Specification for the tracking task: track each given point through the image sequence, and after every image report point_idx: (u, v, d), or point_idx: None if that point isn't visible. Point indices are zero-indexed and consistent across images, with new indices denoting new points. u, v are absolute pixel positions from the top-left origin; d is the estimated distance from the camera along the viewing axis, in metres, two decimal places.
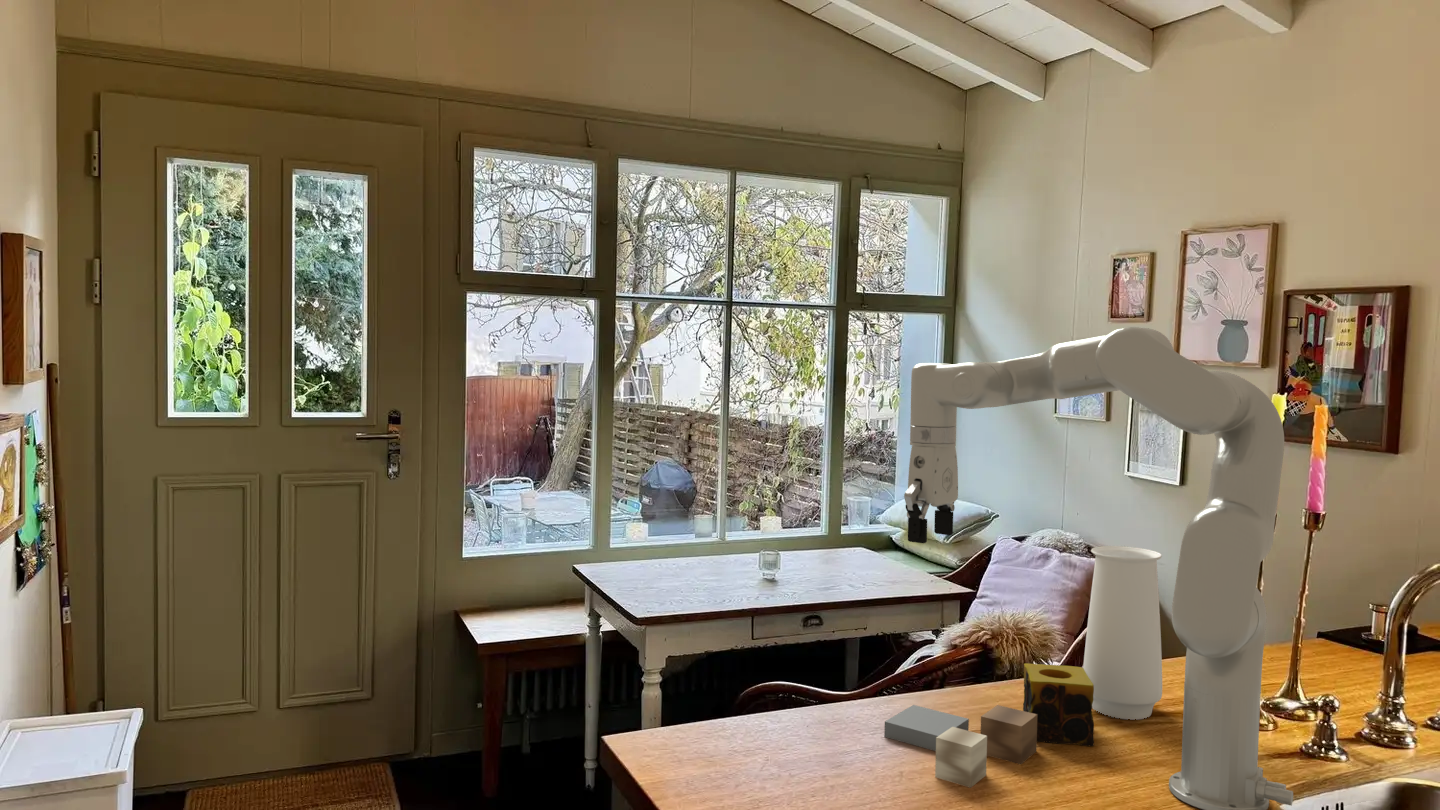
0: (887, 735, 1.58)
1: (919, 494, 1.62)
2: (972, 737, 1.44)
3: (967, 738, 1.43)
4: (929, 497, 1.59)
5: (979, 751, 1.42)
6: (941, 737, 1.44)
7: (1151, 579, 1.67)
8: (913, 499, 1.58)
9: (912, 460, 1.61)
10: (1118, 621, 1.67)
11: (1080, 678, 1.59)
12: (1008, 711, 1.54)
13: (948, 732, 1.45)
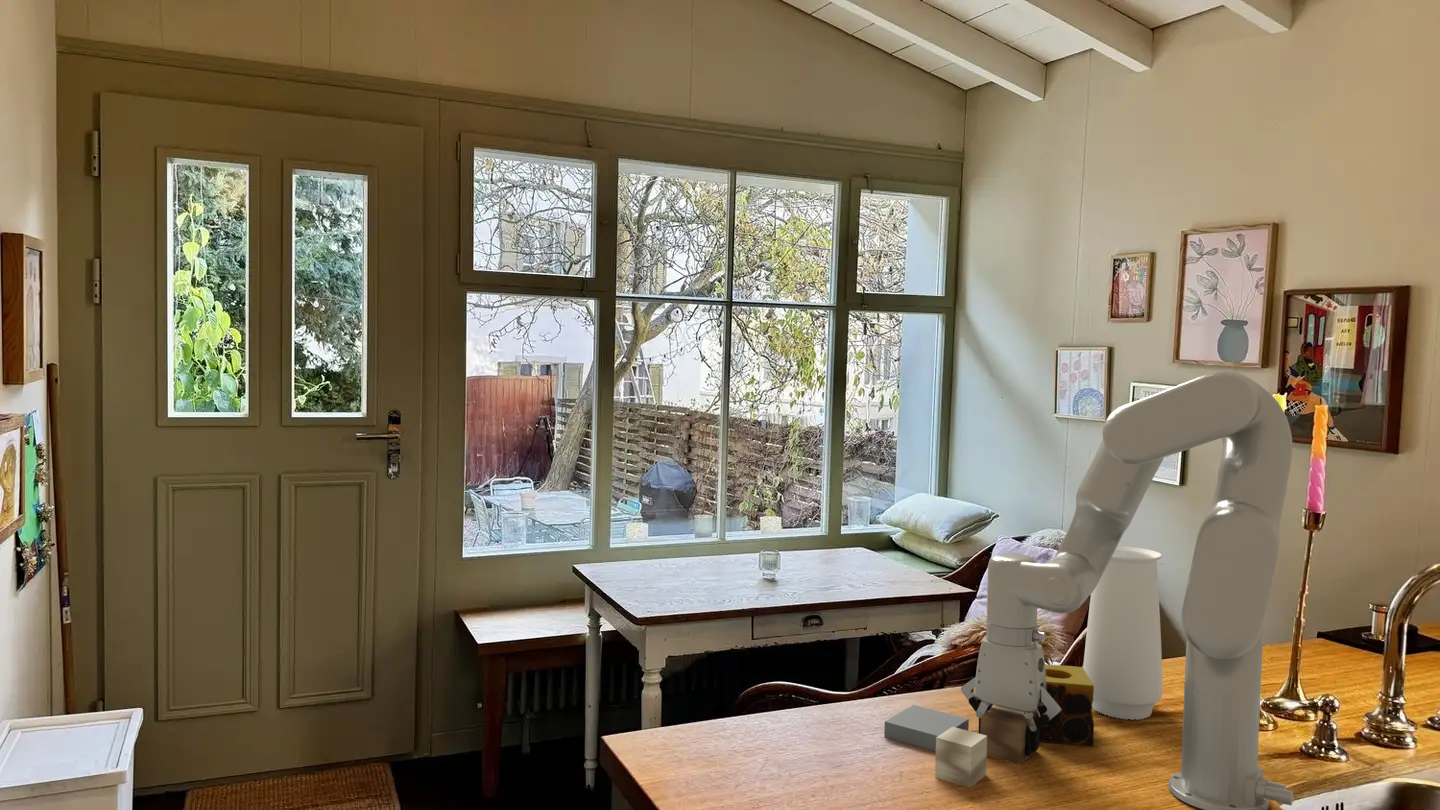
0: (887, 735, 1.58)
1: None
2: (972, 737, 1.44)
3: (967, 738, 1.43)
4: None
5: (979, 751, 1.42)
6: (941, 737, 1.44)
7: (1151, 579, 1.67)
8: None
9: (1036, 665, 1.48)
10: (1118, 621, 1.67)
11: (1079, 678, 1.59)
12: (1008, 710, 1.54)
13: (948, 732, 1.45)
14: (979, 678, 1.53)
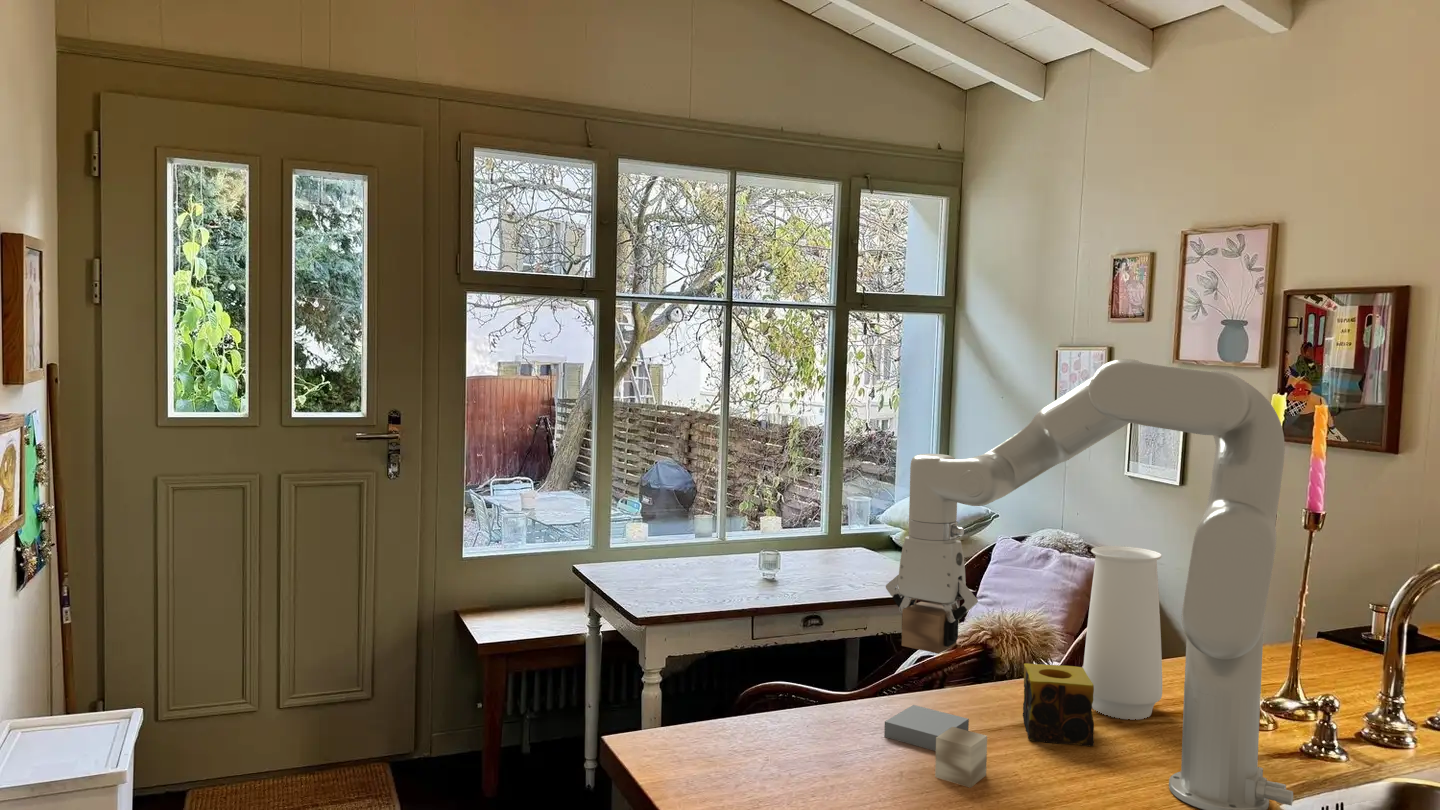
0: (887, 735, 1.58)
1: None
2: (972, 737, 1.44)
3: (967, 738, 1.43)
4: None
5: (979, 751, 1.42)
6: (941, 737, 1.44)
7: (1151, 579, 1.67)
8: None
9: (954, 559, 1.54)
10: (1118, 621, 1.67)
11: (1079, 678, 1.59)
12: (930, 606, 1.60)
13: (948, 732, 1.45)
14: (902, 574, 1.59)
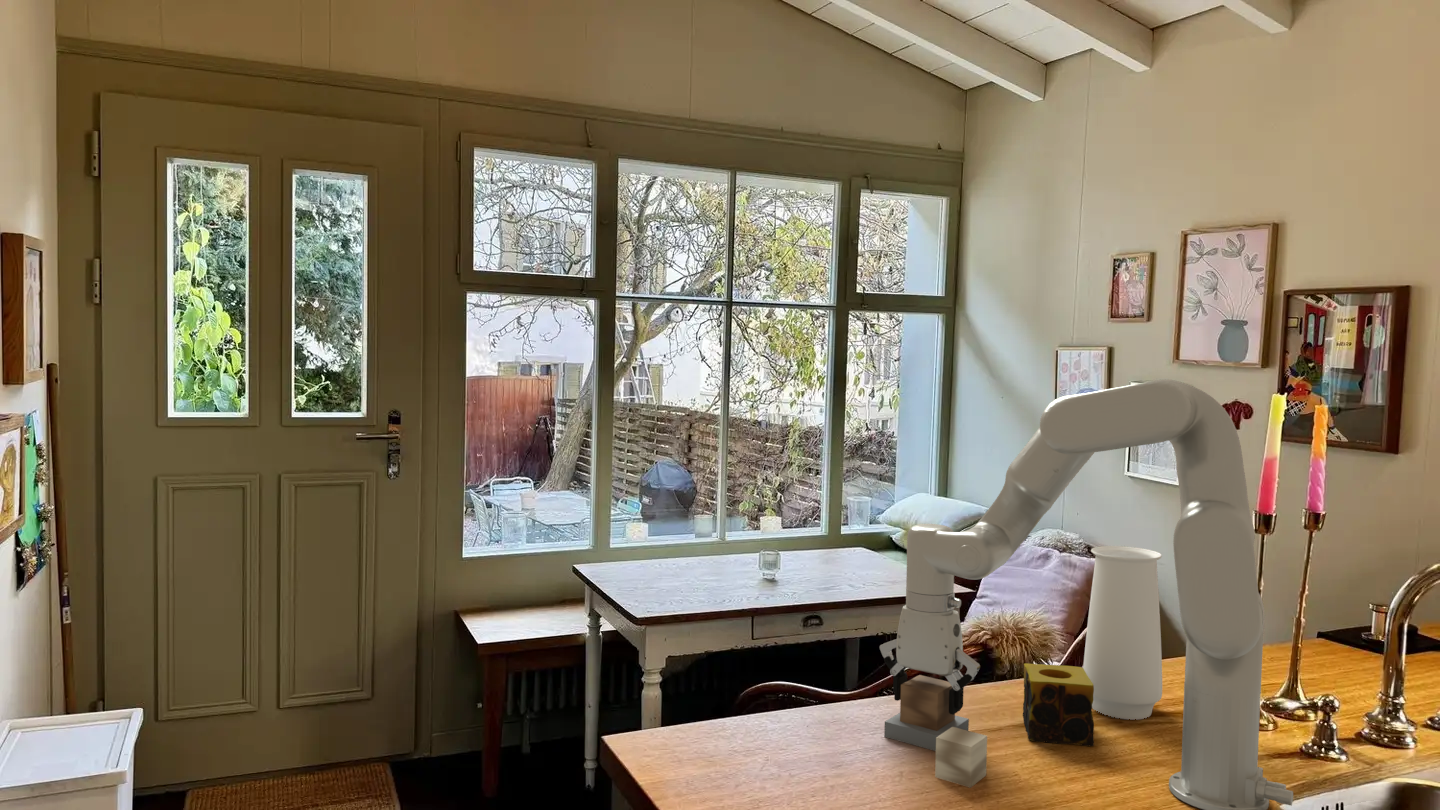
0: (887, 735, 1.58)
1: None
2: (972, 737, 1.44)
3: (967, 738, 1.43)
4: None
5: (979, 751, 1.42)
6: (941, 737, 1.44)
7: (1151, 579, 1.67)
8: None
9: (951, 630, 1.55)
10: (1118, 621, 1.67)
11: (1079, 678, 1.59)
12: (928, 680, 1.61)
13: (948, 732, 1.45)
14: (899, 644, 1.60)
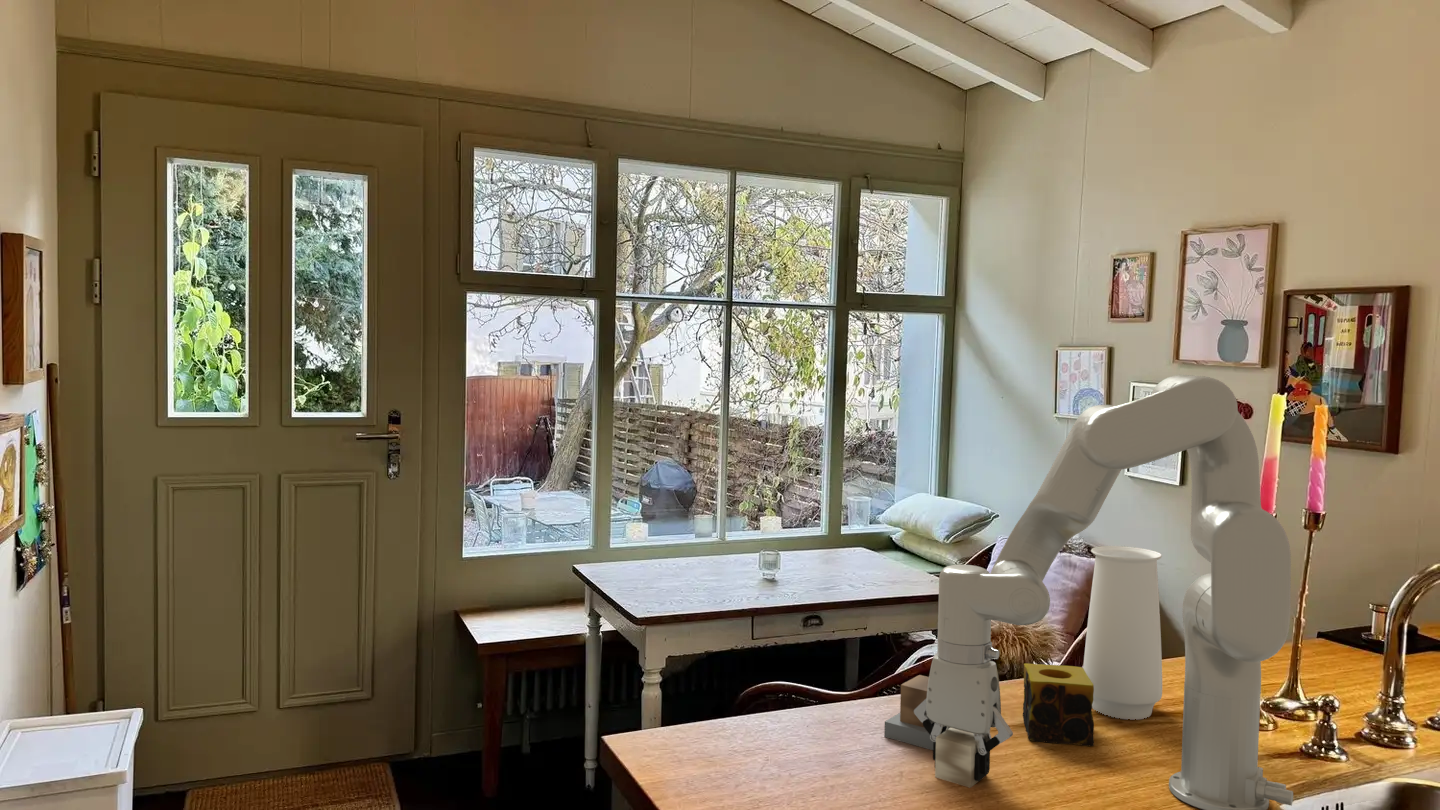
0: (887, 735, 1.58)
1: None
2: (972, 736, 1.44)
3: (967, 738, 1.43)
4: None
5: None
6: (941, 736, 1.44)
7: (1151, 579, 1.67)
8: None
9: (989, 685, 1.39)
10: (1118, 621, 1.67)
11: (1079, 678, 1.59)
12: None
13: (948, 732, 1.45)
14: (930, 697, 1.44)
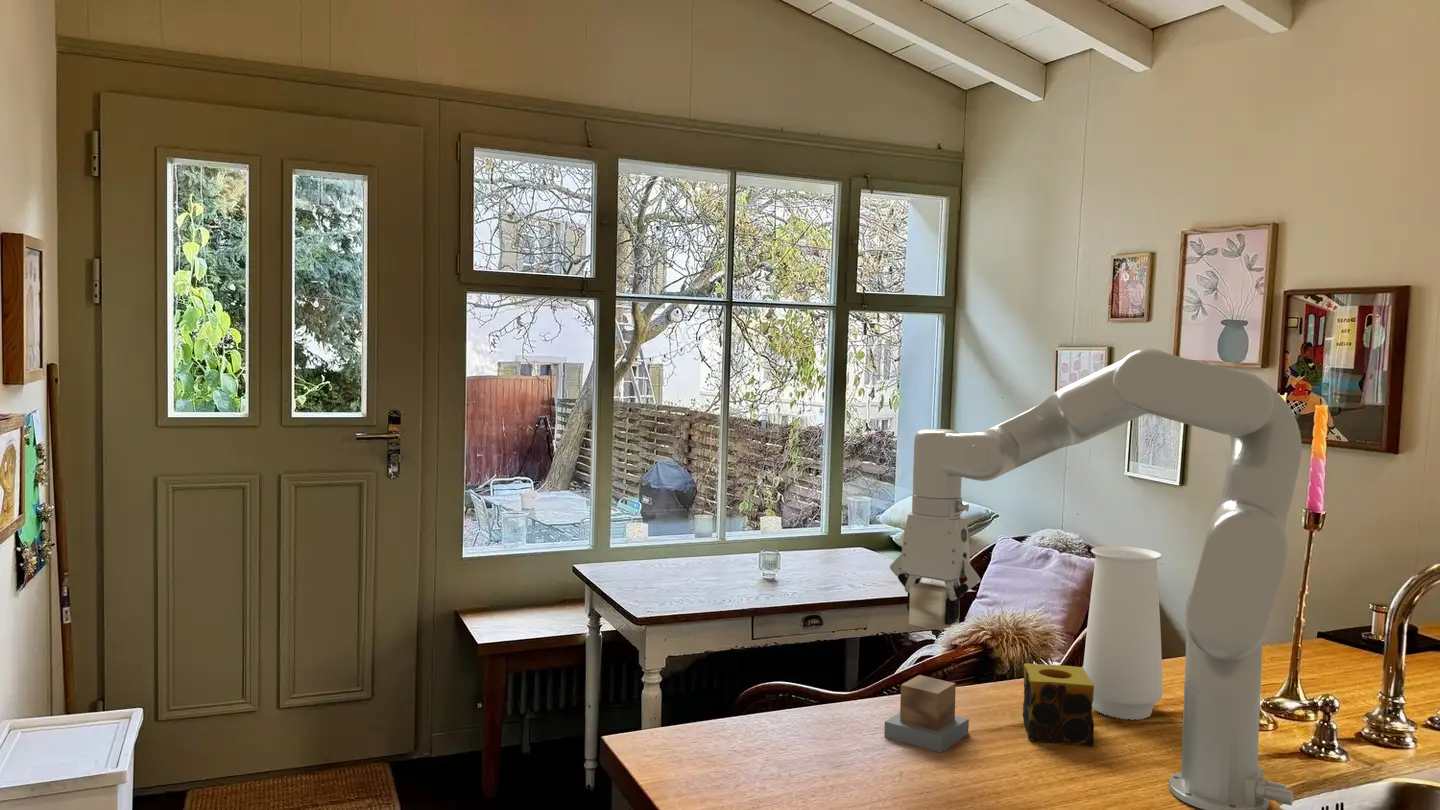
0: (887, 735, 1.58)
1: None
2: (943, 586, 1.56)
3: (938, 587, 1.55)
4: None
5: None
6: (915, 586, 1.55)
7: (1151, 579, 1.67)
8: None
9: (959, 535, 1.52)
10: (1118, 621, 1.67)
11: (1080, 678, 1.59)
12: (928, 680, 1.61)
13: (921, 584, 1.57)
14: (905, 551, 1.56)
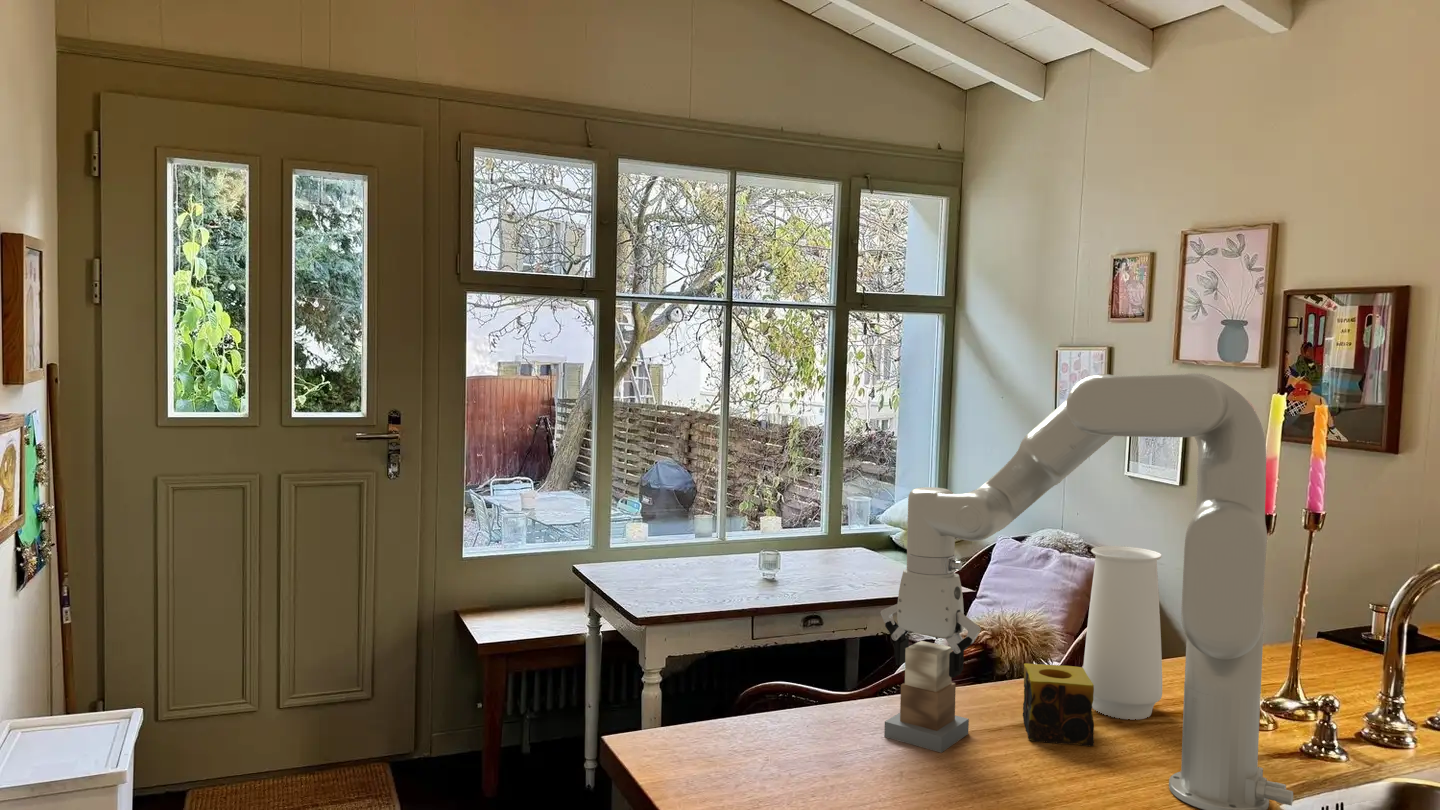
0: (887, 735, 1.58)
1: None
2: (938, 648, 1.59)
3: (933, 649, 1.58)
4: None
5: (944, 659, 1.57)
6: (910, 647, 1.59)
7: (1151, 579, 1.67)
8: None
9: (952, 593, 1.54)
10: (1118, 621, 1.67)
11: (1080, 678, 1.59)
12: None
13: (917, 644, 1.60)
14: (900, 607, 1.59)
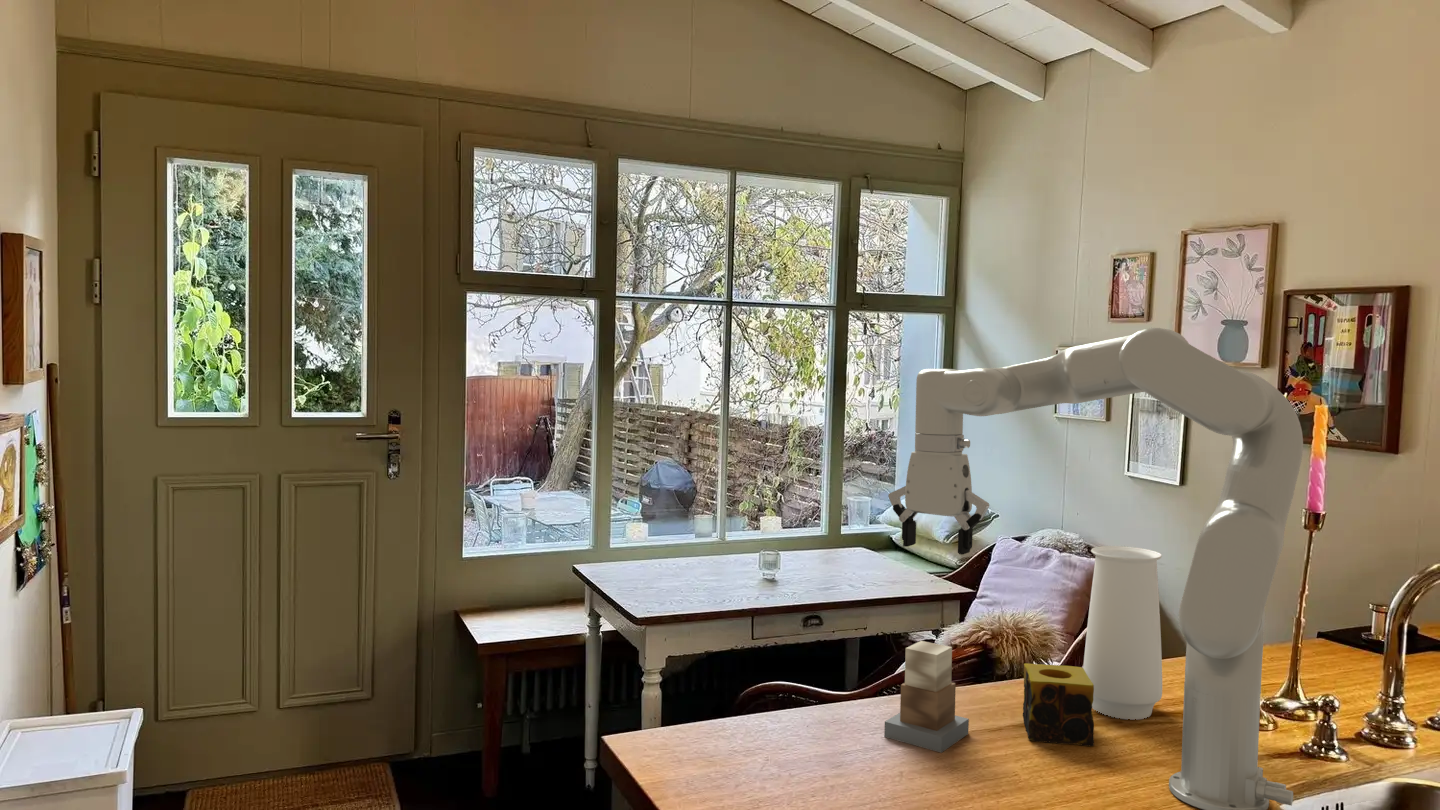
0: (887, 735, 1.58)
1: None
2: (938, 648, 1.59)
3: (933, 649, 1.58)
4: (971, 504, 1.58)
5: (944, 659, 1.57)
6: (910, 647, 1.59)
7: (1151, 579, 1.67)
8: None
9: (961, 470, 1.55)
10: (1118, 621, 1.67)
11: (1080, 678, 1.59)
12: None
13: (917, 644, 1.60)
14: (908, 488, 1.60)
